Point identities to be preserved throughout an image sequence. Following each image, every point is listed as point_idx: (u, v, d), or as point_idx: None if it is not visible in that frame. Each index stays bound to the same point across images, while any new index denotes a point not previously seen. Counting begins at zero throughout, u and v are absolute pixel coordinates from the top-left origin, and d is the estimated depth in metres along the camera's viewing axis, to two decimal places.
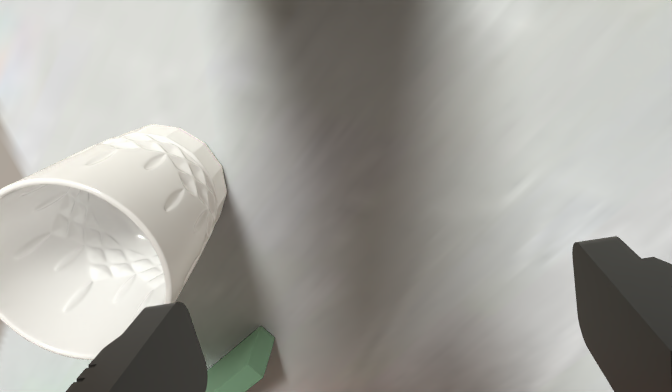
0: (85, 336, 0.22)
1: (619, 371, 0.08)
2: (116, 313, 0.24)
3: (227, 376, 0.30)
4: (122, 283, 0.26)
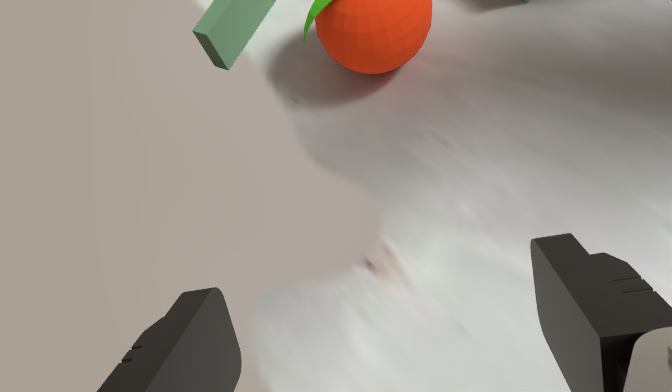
0: None
1: (567, 360, 0.09)
2: None
3: None
4: None
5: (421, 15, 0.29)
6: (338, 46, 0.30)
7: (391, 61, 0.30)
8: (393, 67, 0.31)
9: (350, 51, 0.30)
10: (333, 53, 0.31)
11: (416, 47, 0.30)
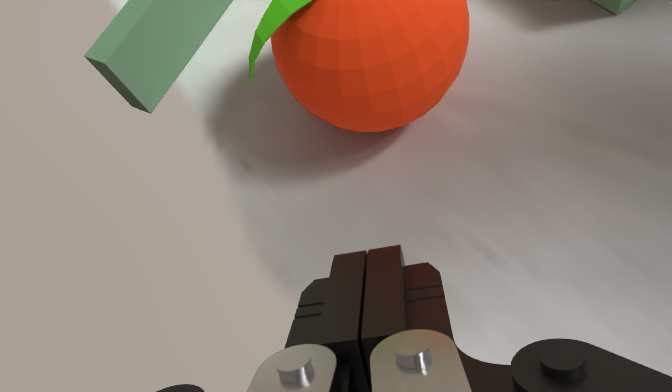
0: None
1: None
2: None
3: None
4: None
5: (453, 38, 0.16)
6: (308, 90, 0.17)
7: (399, 116, 0.18)
8: (402, 123, 0.18)
9: (328, 100, 0.17)
10: (301, 100, 0.18)
11: (442, 92, 0.18)
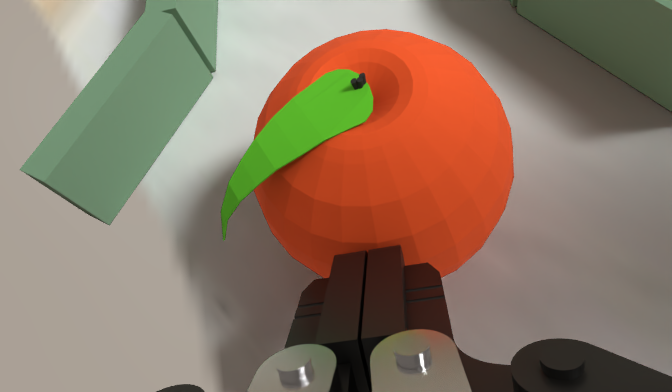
0: None
1: None
2: None
3: None
4: None
5: (497, 192, 0.12)
6: (300, 253, 0.13)
7: None
8: None
9: (328, 268, 0.13)
10: (292, 256, 0.14)
11: (478, 249, 0.13)
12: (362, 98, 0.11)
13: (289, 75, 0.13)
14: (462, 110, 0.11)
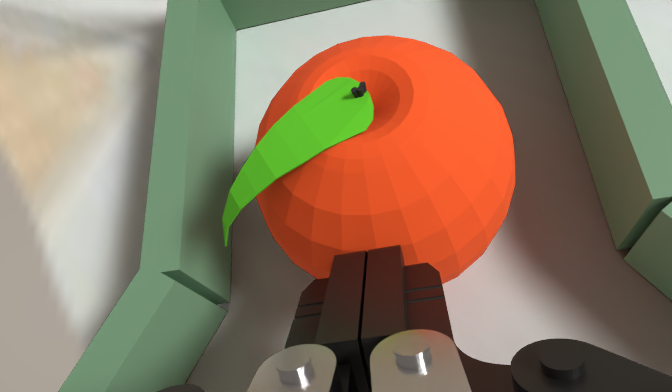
0: None
1: None
2: None
3: None
4: None
5: (498, 200, 0.12)
6: (301, 260, 0.13)
7: None
8: None
9: (328, 275, 0.13)
10: (293, 261, 0.14)
11: (479, 256, 0.13)
12: (363, 107, 0.11)
13: (290, 82, 0.13)
14: (463, 118, 0.11)
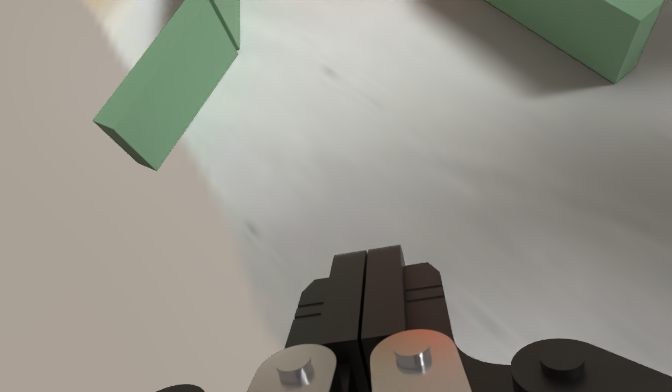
0: None
1: None
2: None
3: None
4: None
5: None
6: None
7: None
8: None
9: None
10: None
11: None
12: None
13: None
14: None
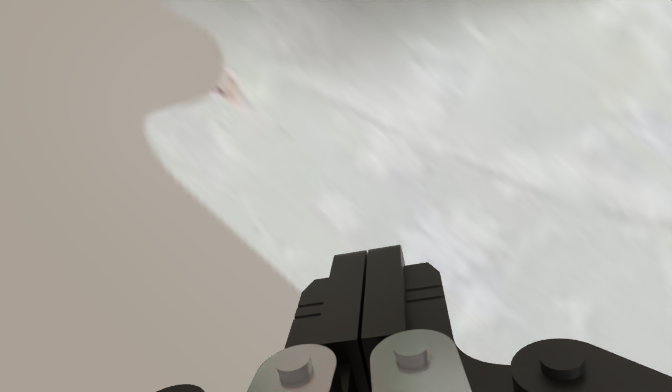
0: None
1: None
2: None
3: None
4: None
5: None
6: None
7: None
8: None
9: None
10: None
11: None
12: None
13: None
14: None
